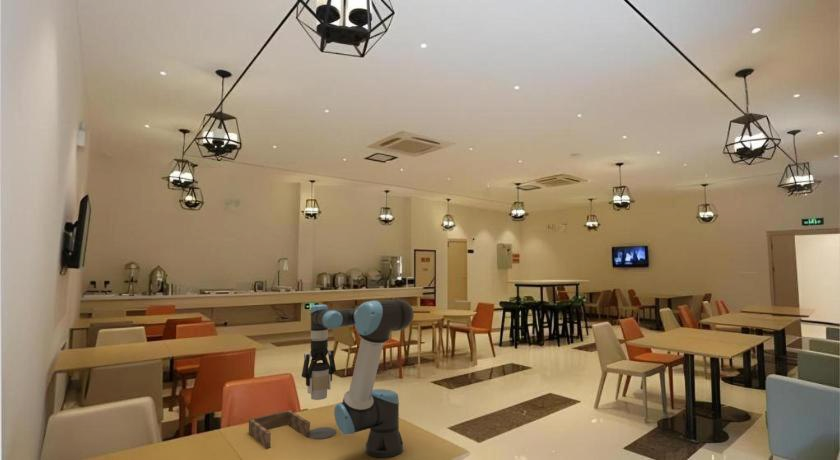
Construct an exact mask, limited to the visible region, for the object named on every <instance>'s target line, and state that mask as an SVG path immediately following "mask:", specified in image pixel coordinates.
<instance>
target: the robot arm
mask: <svg viewBox="0 0 840 460" xmlns="http://www.w3.org/2000/svg"><path fill="white" fill-rule="evenodd" d="M309 315H310V339H311V340H310V352H309V353H304V355H303V356H304V358H303V359H304V360H303V366H302V372H301V377H302V378H304V379H305V386H306V387H307V394H310V395H311V394H312V378H310V377H311V375H312V368H313V367H314V366H315V364H316V363H318V362H319V361H322V363H326V364H327V366H329V379H328V388H327V390H328V391H330V390H332V389H331V388H332V387H331V383H332V381H333V375H334V373H336V372H337V368H336V364H335V363H336V362H335V357H334V355H335V353H334V352H335V351H334V350H332V349H328V346H329V345H328V344H329V341H328V338H329V337H328V336H329V331H328V330H329V329H330V330H331V329H333V330H336V329H338V328H342V327H349V326H350V327H351V326H354V327H355V330H356V332H357V334H358V336H359V338H360V341H359V346H358V351H357V355H356V359H355V364H354V369H353V372H352V378H351V382H350V385H349V390H348V391H346V392H345V393H344V395H343V398H342V402H338V403H337V404H335V407H334V420H335V423H336V427H337V428H338V430H339V431H340V432H341V434H343V435H345V436H346V435H351V434H355V433H359V432H363V431H365V430H369V433H368V436H367V440H366V444H365V453H366V454H367V455H369V456H370V457H374V458H381V459H384V458H392V457H395V456H397V455H399V454H401V453H402V452H403V451H404V443H403V442H404V441H403V438H402V435H401V433H400V428H399V427H400V426H399V424H400V423H399V422H400V421H399V420H400V419H399V417H400V415H399V414H400V413H399V412H400V411H399V408H400V407H399V405H400V403H399V400H400V399H399V395H398V393H397V392H396V391H394V390H391V389H383V388H382V389H381V388H376V389H374V386H375V385H374V384H375V381H376V376H377V372H378V369H379V363H380V360H381V357H382V356H381V355H382V352H383V348H384V345H385V343H387V342H388V341H389V340H390V336H391V333H392V332H397V331H402V330H404V329H406V328H408V327H409V326H410V325H411V324H412V322H413V320H414V309H413V307H412V306H411V304H410V303H409V302H408V301H406V300H404V299H398V298H397V299H395V298H394V299H387V300H386V299H385V300H383V299H382V300H370V301H366V302H365V301H364V302H363V303H361V304H360V305H359V306H358V307H354V308H347V309H346V308H345V309H343V308H342V309H332V310H331V309H330V310H329V308H328V305H327V304H313V305H311V306H310V314H309ZM327 355H328V358H327Z"/></svg>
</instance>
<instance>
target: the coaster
mask: <svg viewBox="0 0 840 460" xmlns="http://www.w3.org/2000/svg"><path fill="white" fill-rule="evenodd" d="M336 433H337V429H335V428H334V427H328V426H324V427H316V428H313V429H310V435H309V437H308V438H310V439H313V440H325V439H329V438H331V437H334V436H336Z"/></svg>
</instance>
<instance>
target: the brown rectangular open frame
mask: <svg viewBox="0 0 840 460" xmlns="http://www.w3.org/2000/svg"><path fill="white" fill-rule="evenodd" d="M287 425H288V426H289V427H291V428H292V429H293V430H295V431H297V432H298V433H300V434H301V435H303V436H304V437H305V438H310V437H309V435H310V431H311V422H310V421H309V420H307V419H305V418H304V417H302V416H300V415H299V414H297V413H295V412H294V411H292V410H290V409H289V410H288V409H287V410H284V411H279V412H276V413H275V412H274V413H271V414H267V415H262V416H257V417H254V418H249V419H248V434H249V435H250V436H251V437H252V438H253V439H254V440H256V441H257V442H258V443H259V444H261V445H262V446H263V447H264V448H265V449H267V450H268V449H270V448H271V440H272V439H271V434H272V433H271V431H269V430H272V429H276V428H280V427H283V426H287Z"/></svg>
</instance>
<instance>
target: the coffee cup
mask: <svg viewBox="0 0 840 460" xmlns="http://www.w3.org/2000/svg"><path fill="white" fill-rule="evenodd" d="M310 378H312V394H310V399H311V400H314V401H320V400H325V399H327V398H328V397H327V396H328V389H327V388H328V379H329V366H327V364H326V363H323V362H317V363H316V364H315V366H314V367H313V368H312V375H311V377H310Z"/></svg>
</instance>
